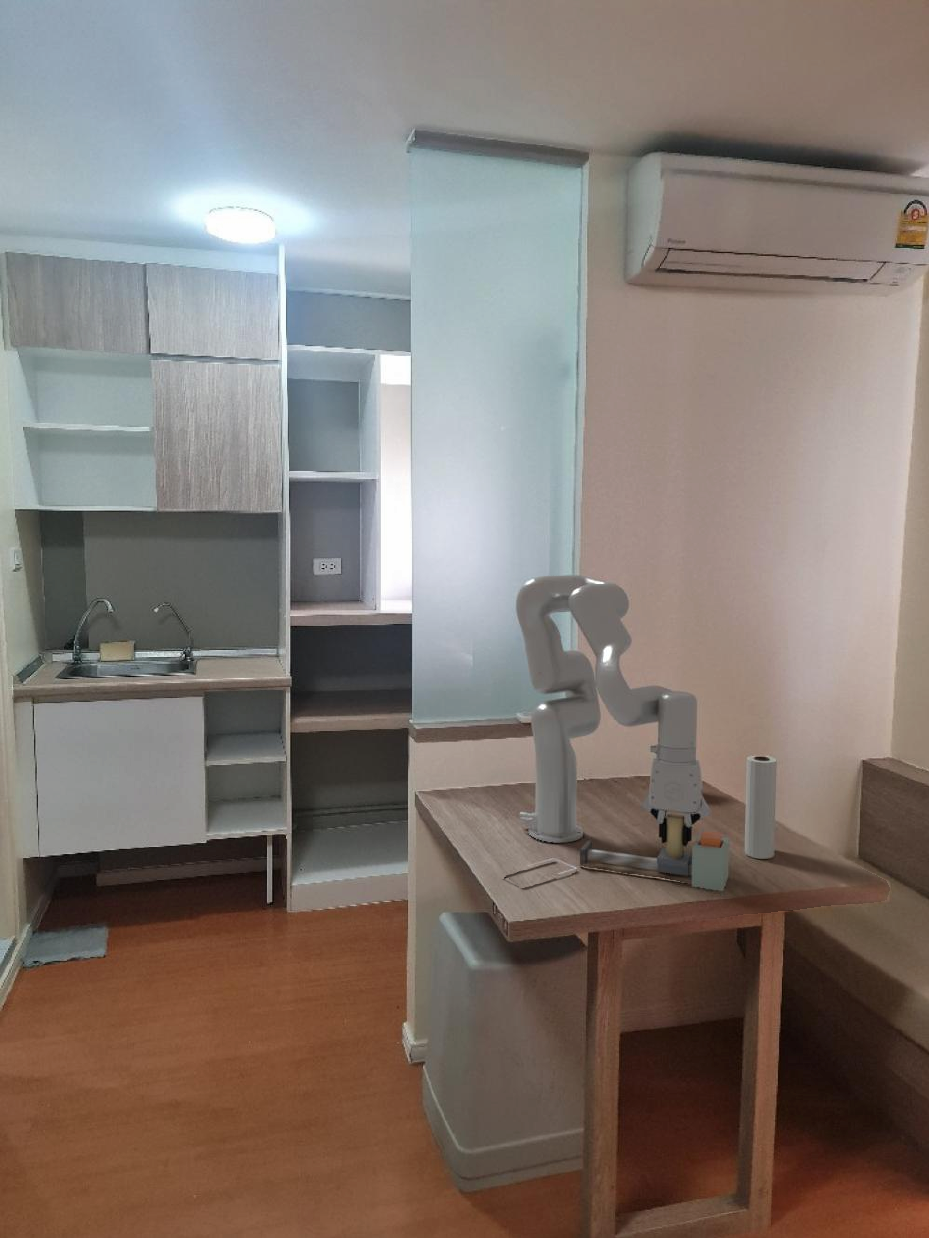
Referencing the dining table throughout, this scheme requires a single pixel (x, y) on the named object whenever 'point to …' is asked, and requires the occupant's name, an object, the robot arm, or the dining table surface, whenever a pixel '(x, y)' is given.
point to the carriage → (674, 848)
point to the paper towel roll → (760, 806)
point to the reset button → (711, 839)
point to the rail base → (626, 863)
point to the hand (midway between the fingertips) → (675, 841)
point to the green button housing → (710, 865)
